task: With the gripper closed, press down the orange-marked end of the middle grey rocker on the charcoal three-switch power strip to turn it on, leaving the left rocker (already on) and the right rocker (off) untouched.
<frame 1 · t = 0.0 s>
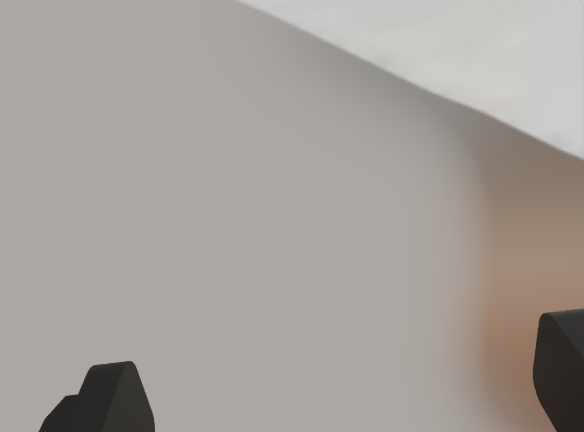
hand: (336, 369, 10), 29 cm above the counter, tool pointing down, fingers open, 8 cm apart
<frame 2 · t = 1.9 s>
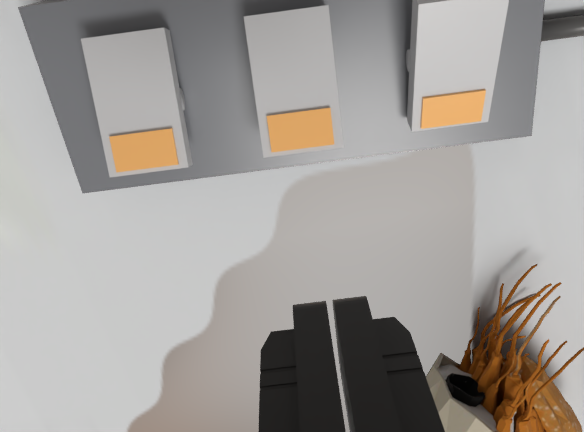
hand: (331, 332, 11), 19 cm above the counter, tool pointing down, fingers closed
nautilus: (486, 375, 39), on the counter
power strip: (291, 62, 27), on the counter
rocker middle: (294, 84, 23), point 4 cm above the counter, hinge at 15.0°
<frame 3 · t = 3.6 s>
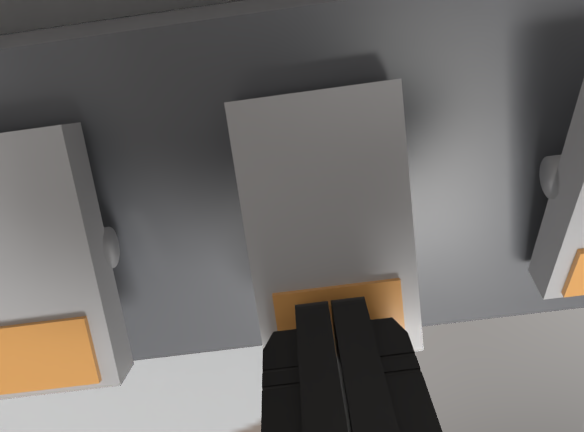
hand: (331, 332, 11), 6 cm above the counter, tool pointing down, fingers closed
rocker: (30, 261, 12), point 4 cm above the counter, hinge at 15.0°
power strip: (314, 152, 16), on the counter
rocker middle: (327, 224, 12), point 4 cm above the counter, hinge at 15.0°, touching gripper
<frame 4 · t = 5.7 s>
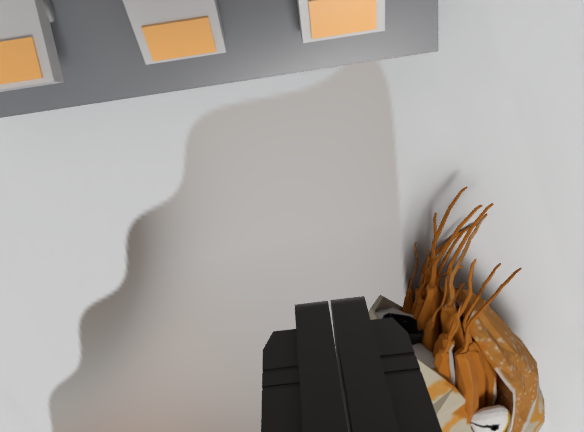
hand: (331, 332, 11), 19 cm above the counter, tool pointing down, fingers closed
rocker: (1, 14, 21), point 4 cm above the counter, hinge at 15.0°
nautilus: (435, 318, 36), on the counter
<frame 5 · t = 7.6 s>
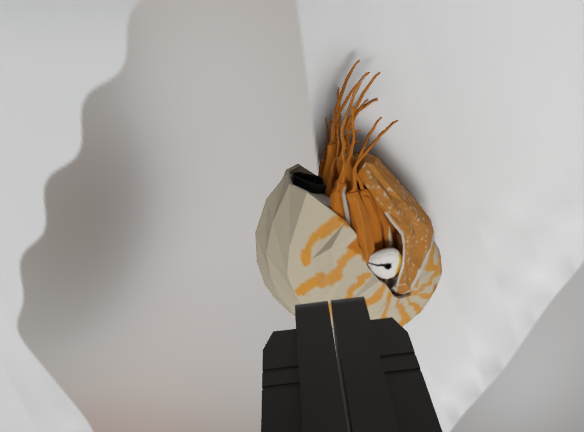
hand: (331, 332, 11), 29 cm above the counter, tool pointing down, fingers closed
nautilus: (351, 191, 42), on the counter
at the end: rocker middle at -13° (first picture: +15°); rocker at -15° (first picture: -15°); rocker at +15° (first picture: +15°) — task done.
